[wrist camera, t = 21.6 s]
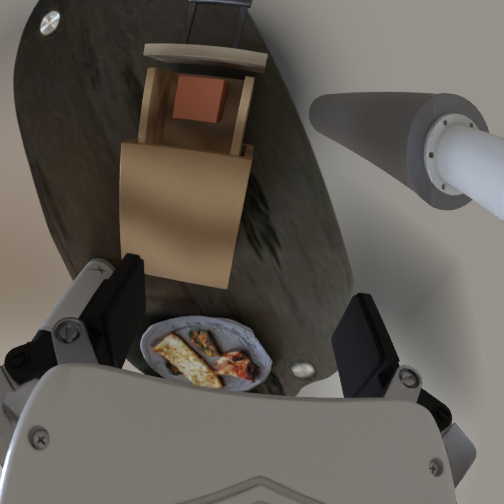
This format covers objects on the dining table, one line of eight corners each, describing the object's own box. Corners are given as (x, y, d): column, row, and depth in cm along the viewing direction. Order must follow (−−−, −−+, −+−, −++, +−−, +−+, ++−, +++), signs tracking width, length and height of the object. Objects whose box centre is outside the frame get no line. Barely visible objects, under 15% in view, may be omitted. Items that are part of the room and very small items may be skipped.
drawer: (179, 5, 21) (160, -14, 15) (277, 15, 22) (282, -6, 16) (151, 159, 31) (128, 175, 25) (242, 173, 32) (239, 191, 26)
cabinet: (152, 131, 30) (121, 142, 23) (253, 145, 31) (252, 159, 24) (146, 234, 38) (122, 269, 30) (233, 250, 39) (227, 289, 31)
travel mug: (104, 250, 39) (36, 343, 22) (126, 282, 42) (74, 381, 25) (80, 261, 40) (16, 347, 23) (101, 291, 43) (50, 381, 26)
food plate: (286, 375, 54) (287, 389, 51) (192, 393, 59) (190, 405, 56) (233, 290, 42) (231, 305, 39) (123, 324, 47) (117, 337, 44)
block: (183, 115, 28) (171, 118, 24) (189, 78, 25) (179, 75, 22) (221, 120, 28) (216, 123, 24) (229, 83, 26) (224, 79, 22)
